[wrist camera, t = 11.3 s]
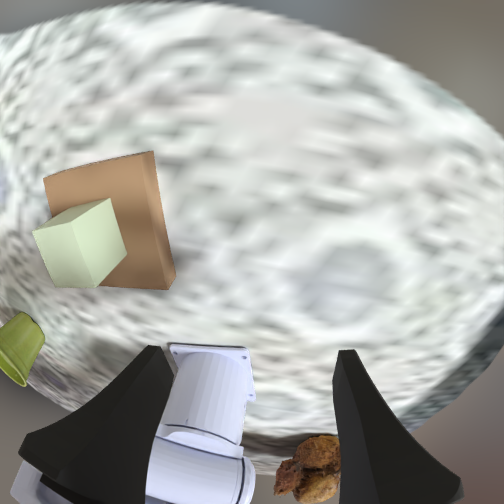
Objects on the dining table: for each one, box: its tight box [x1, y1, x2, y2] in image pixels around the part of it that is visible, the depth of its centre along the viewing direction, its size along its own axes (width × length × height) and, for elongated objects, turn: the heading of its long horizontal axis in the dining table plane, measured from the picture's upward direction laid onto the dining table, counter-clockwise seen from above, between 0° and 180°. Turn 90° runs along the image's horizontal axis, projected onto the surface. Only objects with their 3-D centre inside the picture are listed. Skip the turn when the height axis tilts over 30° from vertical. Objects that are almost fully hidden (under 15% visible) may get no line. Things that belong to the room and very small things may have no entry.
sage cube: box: [32, 198, 127, 288], centre depth 16 cm, size 4×4×4 cm
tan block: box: [43, 151, 176, 290], centre depth 19 cm, size 10×10×2 cm
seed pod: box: [274, 435, 341, 504], centre depth 31 cm, size 13×16×15 cm
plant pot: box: [0, 312, 45, 387], centre depth 26 cm, size 9×9×9 cm
